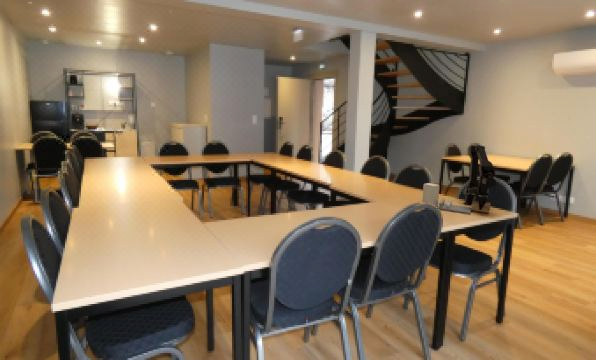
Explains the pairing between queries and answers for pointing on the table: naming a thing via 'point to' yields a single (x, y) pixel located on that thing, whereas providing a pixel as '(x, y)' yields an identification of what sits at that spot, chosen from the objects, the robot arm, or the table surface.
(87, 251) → the table surface
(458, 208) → the board
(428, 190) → the skincare box
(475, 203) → the tan rectangular box
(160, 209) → the table surface
